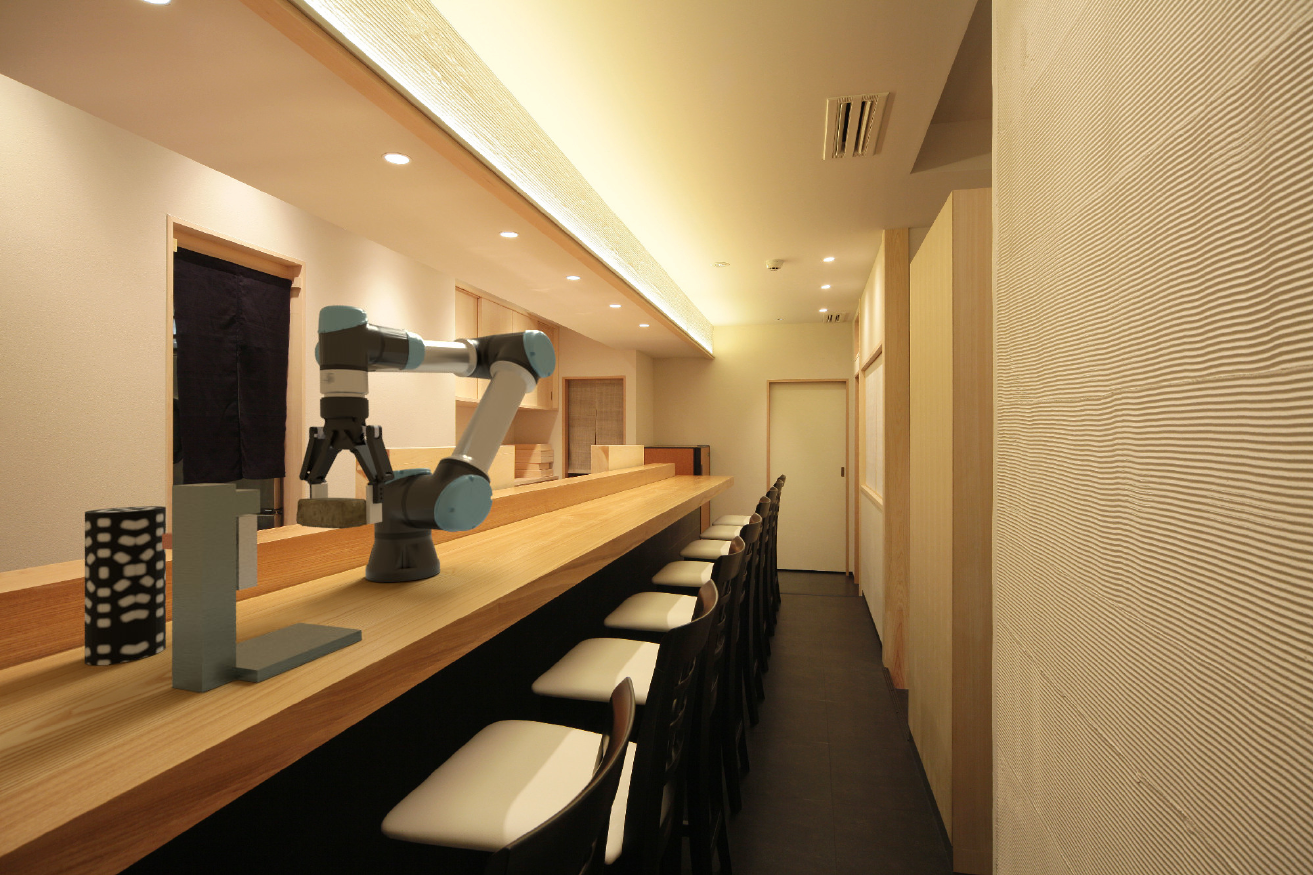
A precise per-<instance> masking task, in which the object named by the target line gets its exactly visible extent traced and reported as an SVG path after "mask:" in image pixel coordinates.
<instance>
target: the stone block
mask: <svg viewBox="0 0 1313 875" xmlns="http://www.w3.org/2000/svg"><path fill="white" fill-rule="evenodd" d="M296 507H297V511H296V518H295V519H296V524H297V525H299V526H301V527H308V528H321V529H341V530H343V529H350V528H358V527H362V526H367V525H368V524H367V522H366V521H367V519H366V498H356V497H355V498H354V497H328V498H310V497H309V498H299V499H298V500H297V506H296Z"/></svg>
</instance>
